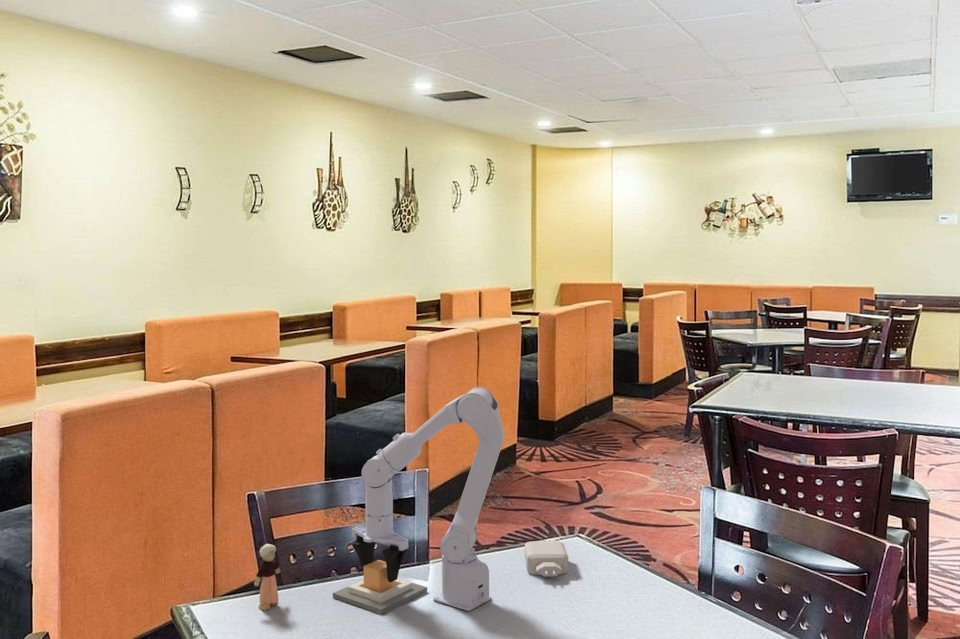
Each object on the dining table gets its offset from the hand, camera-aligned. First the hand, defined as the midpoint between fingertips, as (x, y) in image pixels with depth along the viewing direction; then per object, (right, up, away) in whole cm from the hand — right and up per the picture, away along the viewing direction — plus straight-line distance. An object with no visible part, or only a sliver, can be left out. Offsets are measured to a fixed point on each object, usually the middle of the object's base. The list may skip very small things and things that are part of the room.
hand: (380, 576), depth 169 cm
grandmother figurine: (-22, -5, -4) cm, 23 cm away
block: (0, -3, 0) cm, 3 cm away
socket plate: (0, -4, 0) cm, 4 cm away
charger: (+36, -3, +13) cm, 39 cm away
